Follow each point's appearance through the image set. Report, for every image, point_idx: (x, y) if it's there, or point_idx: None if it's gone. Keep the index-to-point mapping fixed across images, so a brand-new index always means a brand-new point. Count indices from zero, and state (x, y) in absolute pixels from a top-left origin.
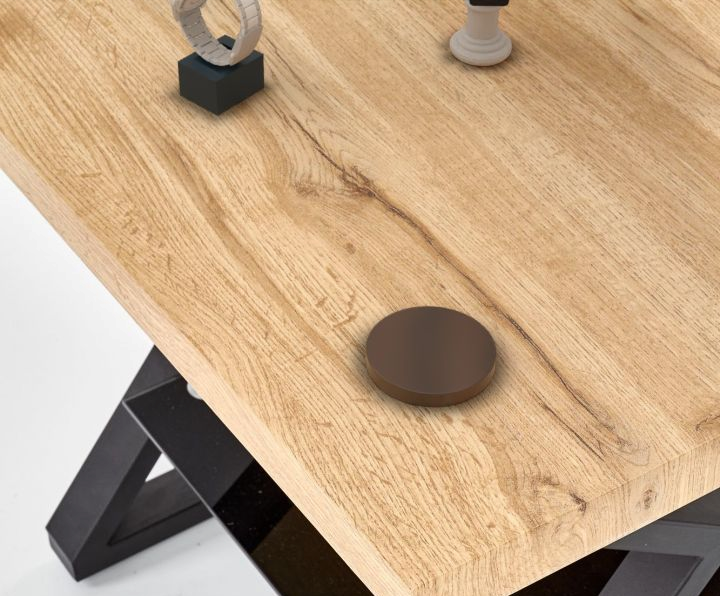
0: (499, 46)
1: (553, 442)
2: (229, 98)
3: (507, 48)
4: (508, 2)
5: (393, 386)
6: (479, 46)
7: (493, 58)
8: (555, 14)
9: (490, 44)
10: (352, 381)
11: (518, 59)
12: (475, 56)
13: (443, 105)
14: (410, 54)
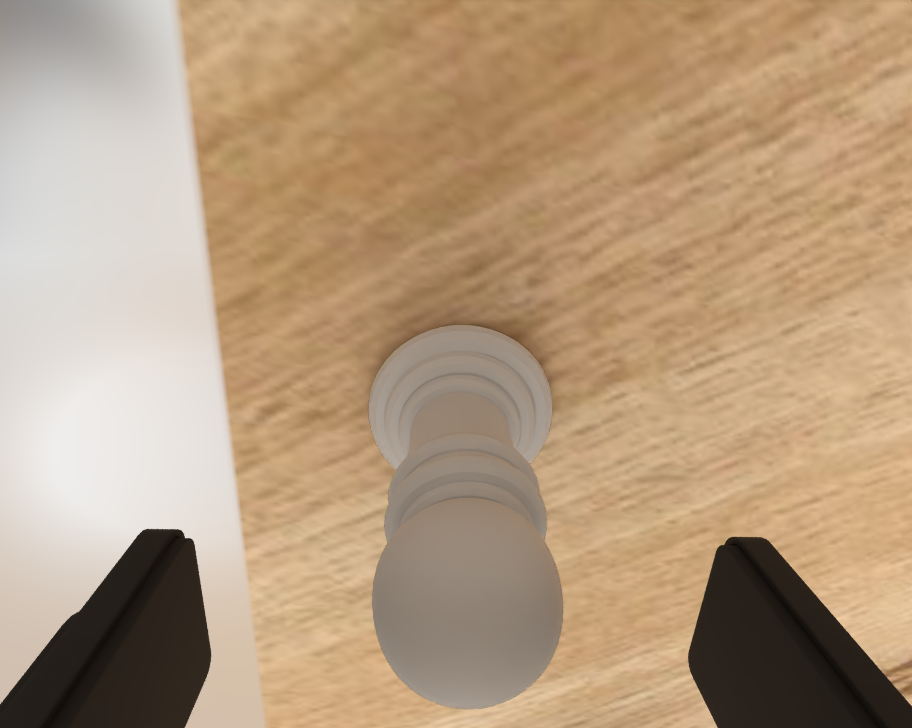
0: (517, 381)
1: None
2: None
3: (507, 350)
4: (771, 544)
5: None
6: (522, 441)
7: (548, 393)
8: (232, 131)
9: (516, 410)
10: None
11: (508, 302)
12: (540, 442)
13: (695, 512)
14: None
